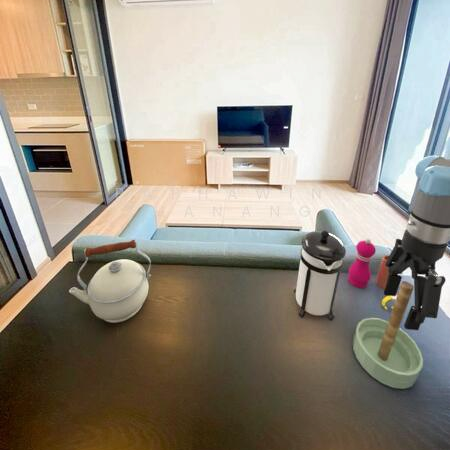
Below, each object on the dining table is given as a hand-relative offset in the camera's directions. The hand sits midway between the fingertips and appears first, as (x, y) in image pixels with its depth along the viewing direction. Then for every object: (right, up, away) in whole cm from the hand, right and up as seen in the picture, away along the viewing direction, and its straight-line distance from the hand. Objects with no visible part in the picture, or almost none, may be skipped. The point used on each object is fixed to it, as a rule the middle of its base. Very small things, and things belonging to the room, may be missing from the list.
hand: (399, 310), depth 62 cm
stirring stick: (0, -17, +6) cm, 18 cm away
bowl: (0, -17, +6) cm, 18 cm away
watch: (+12, -12, +21) cm, 27 cm away
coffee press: (-14, -11, +24) cm, 30 cm away
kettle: (-81, -11, +22) cm, 85 cm away
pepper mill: (+7, -8, +32) cm, 33 cm away
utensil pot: (+16, -8, +31) cm, 35 cm away
